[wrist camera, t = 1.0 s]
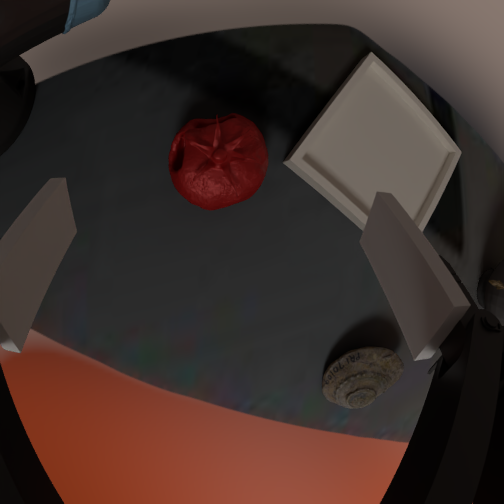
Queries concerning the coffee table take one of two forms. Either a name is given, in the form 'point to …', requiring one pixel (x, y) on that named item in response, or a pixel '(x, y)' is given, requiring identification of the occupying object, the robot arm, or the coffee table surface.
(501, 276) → the pitcher
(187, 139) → the pomegranate
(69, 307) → the coffee table surface
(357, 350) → the fossilized seashell
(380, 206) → the robot arm
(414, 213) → the tray
